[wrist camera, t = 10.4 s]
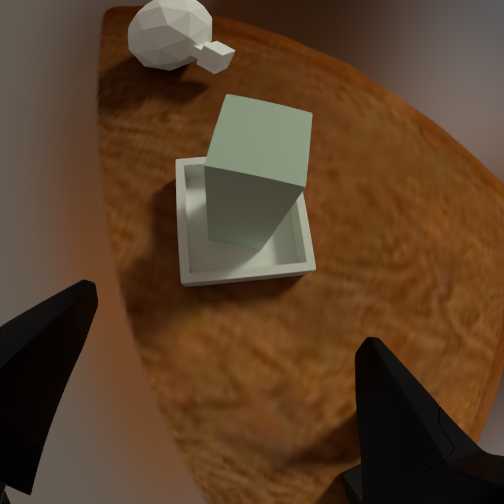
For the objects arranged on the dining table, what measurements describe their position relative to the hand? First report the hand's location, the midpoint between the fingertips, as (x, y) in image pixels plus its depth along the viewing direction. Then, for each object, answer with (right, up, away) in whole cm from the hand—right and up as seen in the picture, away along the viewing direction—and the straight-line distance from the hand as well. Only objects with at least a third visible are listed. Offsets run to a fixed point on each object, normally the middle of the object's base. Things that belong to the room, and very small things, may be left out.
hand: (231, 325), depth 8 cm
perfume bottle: (-7, +22, +17) cm, 29 cm away
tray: (0, +4, +14) cm, 15 cm away
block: (0, +5, +13) cm, 14 cm away
